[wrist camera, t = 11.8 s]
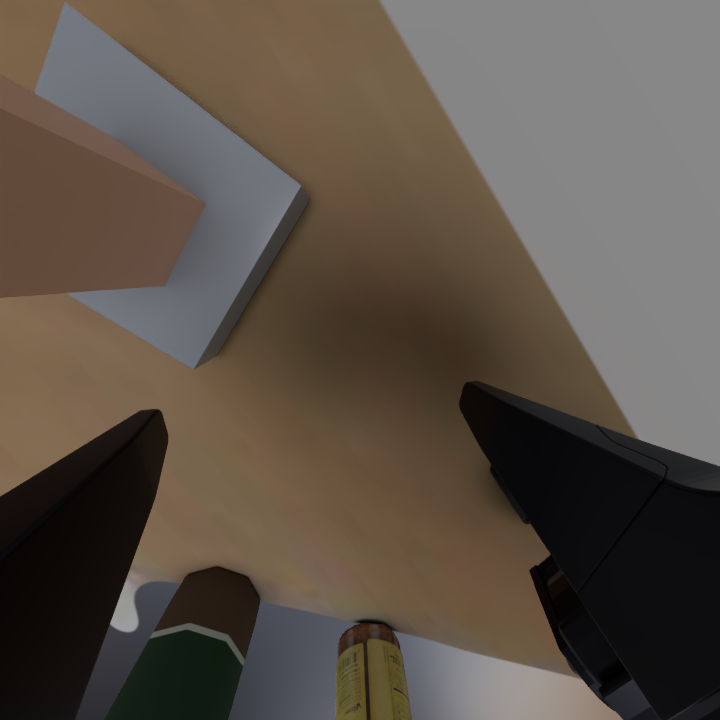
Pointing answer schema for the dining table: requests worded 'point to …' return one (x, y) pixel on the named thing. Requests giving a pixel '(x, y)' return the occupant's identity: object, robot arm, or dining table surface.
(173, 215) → the tan block
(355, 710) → the sauce bottle
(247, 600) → the beer bottle
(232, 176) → the plate
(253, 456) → the dining table surface
